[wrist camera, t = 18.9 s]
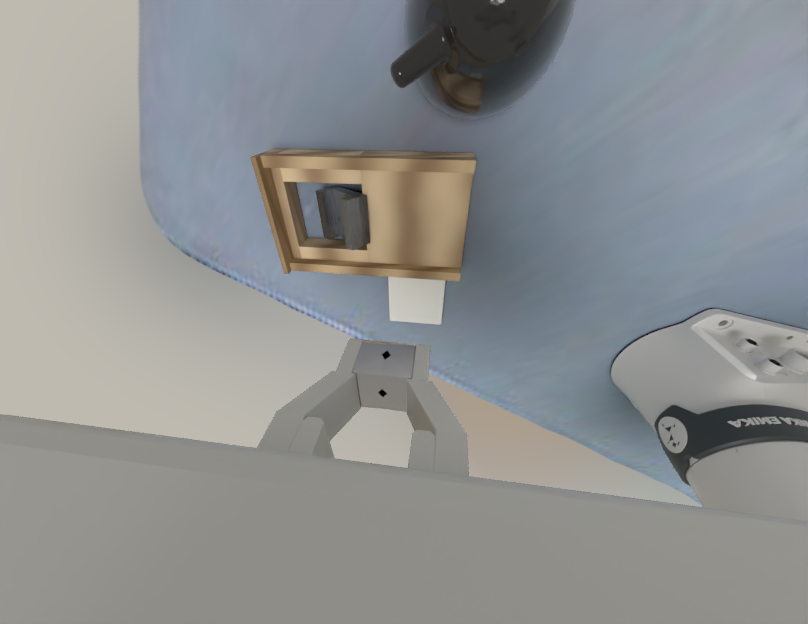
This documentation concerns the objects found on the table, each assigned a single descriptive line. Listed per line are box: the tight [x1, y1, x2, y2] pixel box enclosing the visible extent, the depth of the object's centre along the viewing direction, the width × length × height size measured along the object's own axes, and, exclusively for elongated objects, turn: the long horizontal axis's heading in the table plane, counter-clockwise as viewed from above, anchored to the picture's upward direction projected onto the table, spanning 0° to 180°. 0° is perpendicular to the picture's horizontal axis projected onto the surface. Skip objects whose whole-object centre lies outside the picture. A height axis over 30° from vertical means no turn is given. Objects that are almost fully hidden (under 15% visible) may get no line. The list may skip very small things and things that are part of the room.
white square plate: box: [388, 277, 445, 325], centre depth 38 cm, size 7×7×1 cm
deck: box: [250, 149, 476, 281], centre depth 31 cm, size 20×12×4 cm, turn 90°
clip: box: [316, 186, 370, 250], centre depth 31 cm, size 5×5×2 cm
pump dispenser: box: [391, 0, 576, 119], centre depth 17 cm, size 10×10×15 cm
